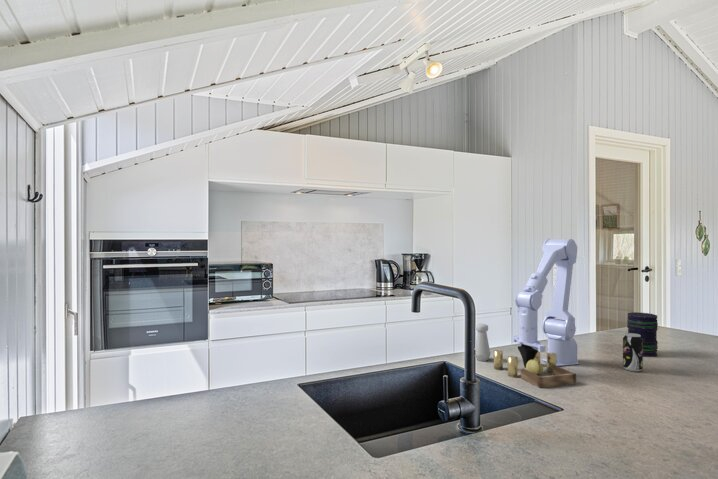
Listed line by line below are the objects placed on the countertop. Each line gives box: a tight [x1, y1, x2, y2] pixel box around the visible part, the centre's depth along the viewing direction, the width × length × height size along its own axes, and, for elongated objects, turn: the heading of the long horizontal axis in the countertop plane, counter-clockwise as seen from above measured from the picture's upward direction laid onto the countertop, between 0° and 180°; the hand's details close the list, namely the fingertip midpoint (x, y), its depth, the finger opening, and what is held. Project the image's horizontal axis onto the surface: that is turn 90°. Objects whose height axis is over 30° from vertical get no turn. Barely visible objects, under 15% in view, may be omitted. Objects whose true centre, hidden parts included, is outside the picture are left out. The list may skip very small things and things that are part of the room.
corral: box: [520, 366, 577, 389], centre depth 137 cm, size 13×9×3 cm
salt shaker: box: [475, 323, 491, 362], centre depth 161 cm, size 6×6×13 cm
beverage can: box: [622, 332, 644, 373], centre depth 148 cm, size 6×6×12 cm
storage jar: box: [626, 311, 659, 358], centre depth 168 cm, size 10×10×15 cm
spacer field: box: [493, 349, 557, 378], centre depth 148 cm, size 18×11×6 cm, turn 106°
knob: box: [525, 359, 544, 375], centre depth 143 cm, size 5×5×5 cm
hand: (528, 368), depth 147 cm, fingers closed
